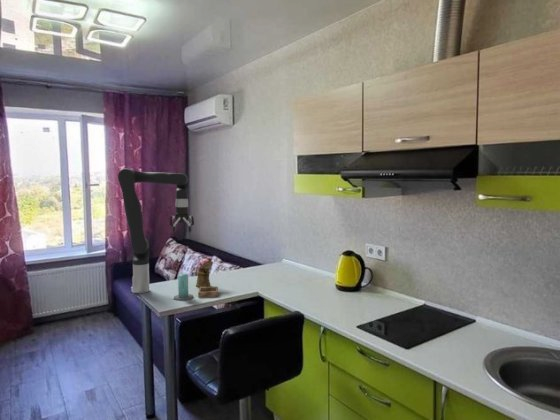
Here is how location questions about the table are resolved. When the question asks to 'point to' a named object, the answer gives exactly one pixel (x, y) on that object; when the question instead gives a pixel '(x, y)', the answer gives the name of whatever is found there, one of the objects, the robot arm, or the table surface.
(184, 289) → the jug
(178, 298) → the disc
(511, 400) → the table surface
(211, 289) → the stand
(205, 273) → the brown figurine
